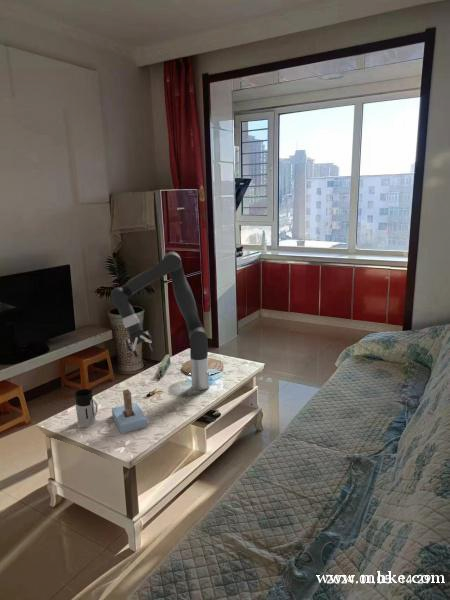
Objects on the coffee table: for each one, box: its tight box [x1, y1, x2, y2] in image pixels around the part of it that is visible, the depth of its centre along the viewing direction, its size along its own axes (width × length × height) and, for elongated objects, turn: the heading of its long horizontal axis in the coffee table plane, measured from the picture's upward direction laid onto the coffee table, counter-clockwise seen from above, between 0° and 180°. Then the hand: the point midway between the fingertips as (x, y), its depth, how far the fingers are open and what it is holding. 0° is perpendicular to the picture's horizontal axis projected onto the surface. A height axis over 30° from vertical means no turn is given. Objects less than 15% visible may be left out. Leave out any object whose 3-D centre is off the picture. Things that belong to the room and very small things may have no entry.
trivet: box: [181, 357, 224, 375], centre depth 260 cm, size 25×25×2 cm
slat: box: [122, 389, 133, 417], centre depth 200 cm, size 2×4×14 cm, turn 27°
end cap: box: [111, 402, 148, 434], centre depth 202 cm, size 12×18×4 cm, turn 26°
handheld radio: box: [157, 354, 172, 381], centre depth 256 cm, size 7×3×25 cm
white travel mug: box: [74, 388, 98, 428], centre depth 199 cm, size 9×14×15 cm, turn 50°
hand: (145, 353), depth 219 cm, fingers open, 8 cm apart
